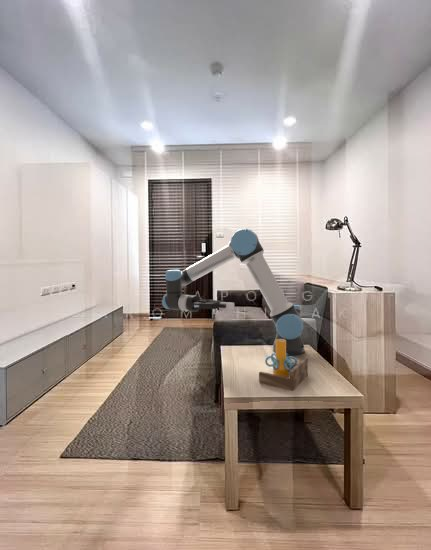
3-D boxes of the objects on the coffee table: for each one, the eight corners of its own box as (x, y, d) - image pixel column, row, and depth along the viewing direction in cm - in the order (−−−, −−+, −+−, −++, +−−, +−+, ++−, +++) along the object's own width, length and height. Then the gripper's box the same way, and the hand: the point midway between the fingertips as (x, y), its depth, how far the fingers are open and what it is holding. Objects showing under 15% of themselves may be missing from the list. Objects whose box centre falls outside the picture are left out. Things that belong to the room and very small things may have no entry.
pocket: (276, 369, 133) (276, 352, 133) (307, 375, 126) (307, 358, 125) (259, 382, 120) (258, 364, 119) (292, 390, 112) (292, 371, 112)
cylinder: (294, 372, 129) (294, 336, 128) (299, 383, 118) (299, 344, 117) (264, 372, 130) (263, 336, 129) (266, 382, 119) (266, 343, 118)
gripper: (199, 308, 154) (241, 312, 141) (181, 313, 143) (225, 317, 130) (198, 293, 153) (240, 295, 140) (180, 297, 143) (225, 299, 129)
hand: (233, 306), depth 135 cm, fingers closed
